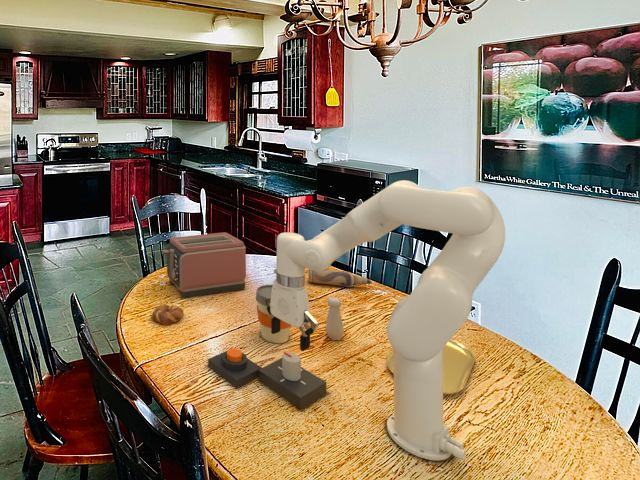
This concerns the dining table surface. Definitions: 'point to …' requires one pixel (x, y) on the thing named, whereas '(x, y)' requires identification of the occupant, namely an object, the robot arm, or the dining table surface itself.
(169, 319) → the braided bread roll
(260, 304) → the reusable coffee cup
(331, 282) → the decorative bottle
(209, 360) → the block
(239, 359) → the button
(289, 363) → the timer knob
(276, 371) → the fryer panel
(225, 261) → the toaster
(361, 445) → the dining table surface
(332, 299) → the salt shaker
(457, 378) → the serving platter
